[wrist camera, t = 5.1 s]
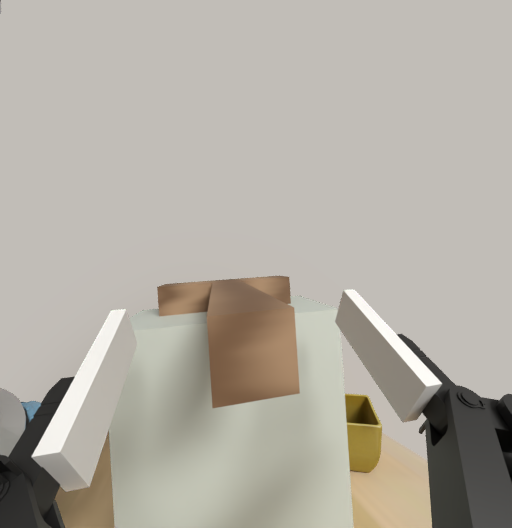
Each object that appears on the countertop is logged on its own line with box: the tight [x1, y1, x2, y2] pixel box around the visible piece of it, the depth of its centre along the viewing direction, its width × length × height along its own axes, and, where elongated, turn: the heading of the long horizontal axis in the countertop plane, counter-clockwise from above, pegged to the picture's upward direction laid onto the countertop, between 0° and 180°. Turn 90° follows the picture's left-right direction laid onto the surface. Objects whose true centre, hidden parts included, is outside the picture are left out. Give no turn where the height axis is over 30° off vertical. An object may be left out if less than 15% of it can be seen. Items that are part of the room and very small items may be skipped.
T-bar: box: [157, 276, 300, 408], centre depth 18 cm, size 14×21×3 cm, turn 10°
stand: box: [109, 296, 354, 528], centre depth 24 cm, size 20×10×30 cm, turn 100°
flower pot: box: [345, 394, 382, 473], centre depth 40 cm, size 9×9×9 cm
